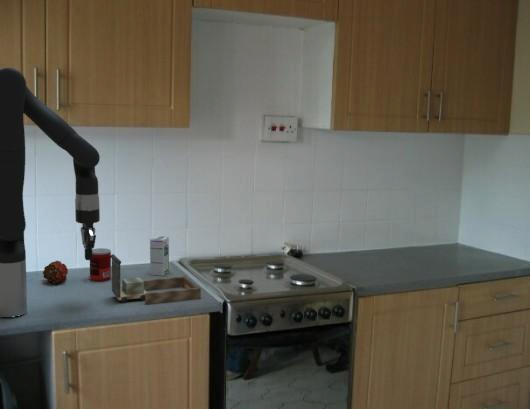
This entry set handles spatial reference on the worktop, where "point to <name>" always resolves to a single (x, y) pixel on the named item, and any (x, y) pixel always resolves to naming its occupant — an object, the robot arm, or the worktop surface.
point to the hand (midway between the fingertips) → (88, 259)
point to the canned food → (100, 265)
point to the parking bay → (173, 295)
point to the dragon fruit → (55, 272)
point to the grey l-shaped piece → (126, 284)
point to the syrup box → (159, 255)
